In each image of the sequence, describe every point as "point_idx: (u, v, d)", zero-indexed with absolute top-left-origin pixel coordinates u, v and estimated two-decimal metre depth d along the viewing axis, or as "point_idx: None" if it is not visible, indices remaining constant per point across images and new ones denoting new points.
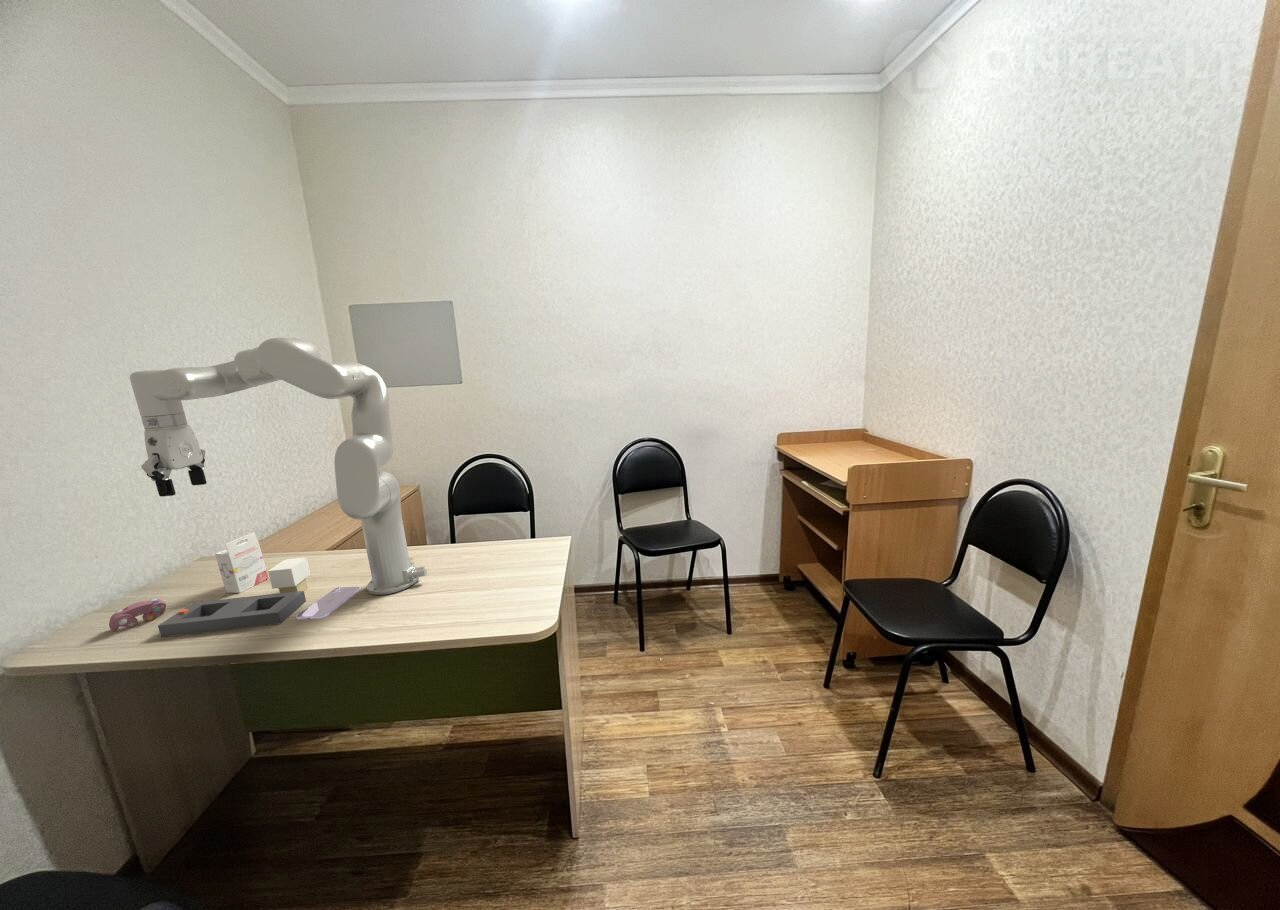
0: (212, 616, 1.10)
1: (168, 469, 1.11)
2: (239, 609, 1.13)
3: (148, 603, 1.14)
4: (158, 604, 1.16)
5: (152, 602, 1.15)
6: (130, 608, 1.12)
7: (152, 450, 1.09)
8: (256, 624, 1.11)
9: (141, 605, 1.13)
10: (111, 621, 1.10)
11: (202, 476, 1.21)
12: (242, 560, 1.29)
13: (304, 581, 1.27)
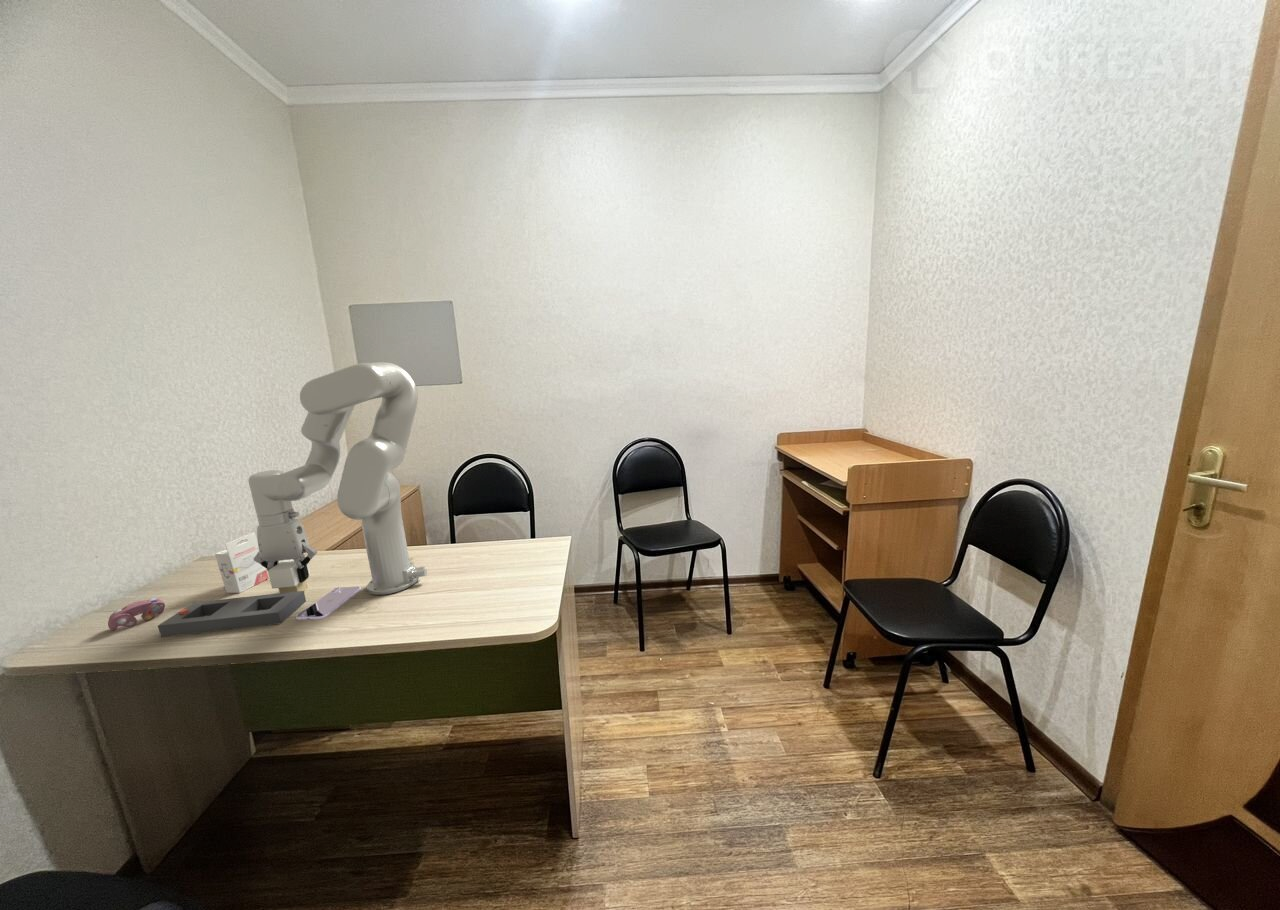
0: (212, 616, 1.10)
1: None
2: (239, 609, 1.13)
3: (147, 602, 1.15)
4: (157, 603, 1.16)
5: (151, 601, 1.15)
6: (129, 607, 1.12)
7: (301, 538, 1.23)
8: (256, 624, 1.11)
9: (140, 605, 1.14)
10: (110, 620, 1.10)
11: None
12: (242, 560, 1.29)
13: (304, 581, 1.27)
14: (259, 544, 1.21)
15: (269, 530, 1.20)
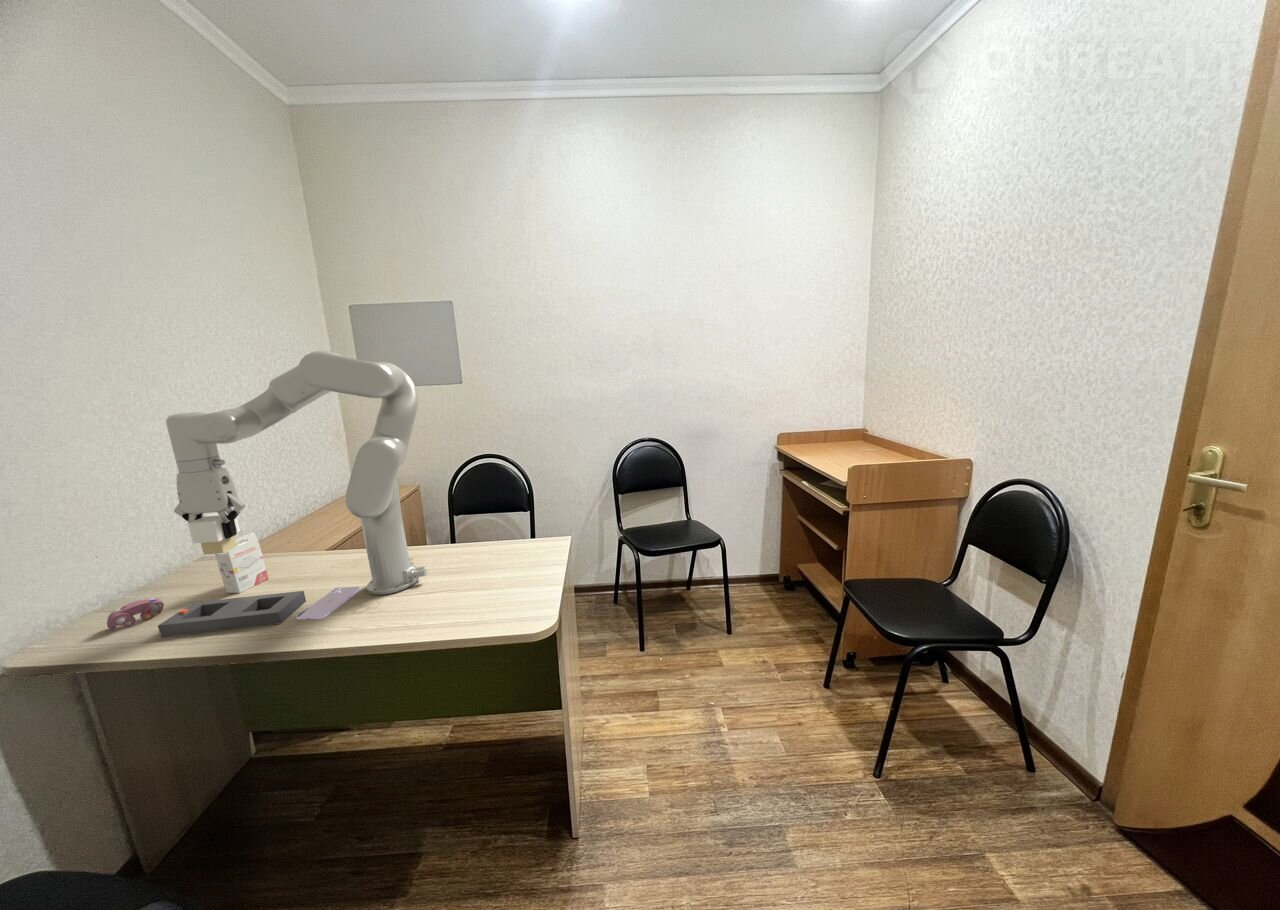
0: (212, 616, 1.10)
1: None
2: (239, 609, 1.13)
3: (146, 602, 1.15)
4: (155, 603, 1.16)
5: (150, 601, 1.16)
6: (128, 607, 1.13)
7: (226, 489, 1.11)
8: (256, 624, 1.11)
9: (138, 604, 1.14)
10: (109, 620, 1.10)
11: None
12: (242, 560, 1.29)
13: (232, 538, 1.16)
14: (179, 493, 1.09)
15: (190, 478, 1.08)
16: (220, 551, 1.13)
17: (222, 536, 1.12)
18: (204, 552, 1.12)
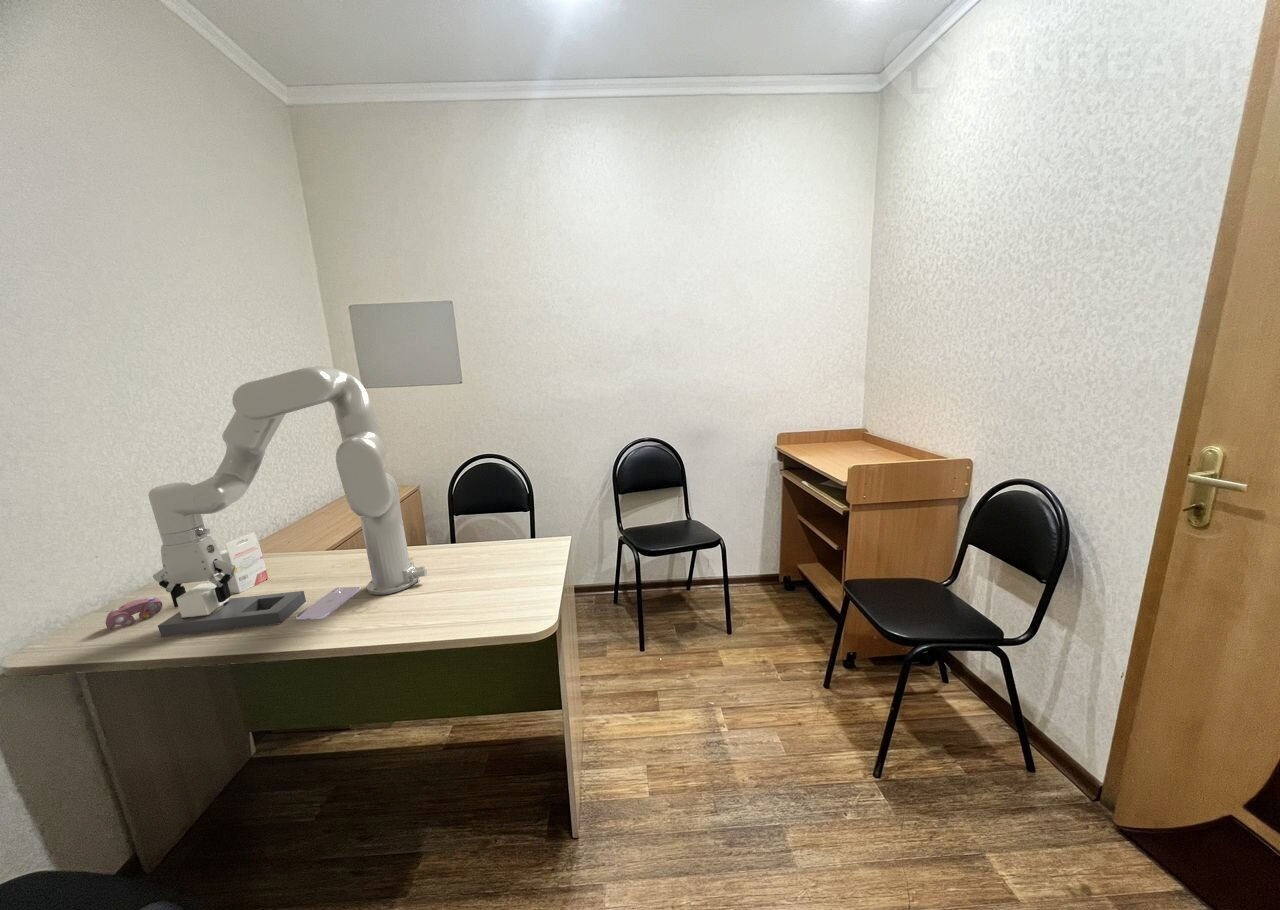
0: (212, 616, 1.10)
1: None
2: (239, 609, 1.13)
3: (145, 601, 1.15)
4: (154, 602, 1.17)
5: (148, 600, 1.16)
6: (127, 606, 1.13)
7: (212, 558, 1.11)
8: (256, 624, 1.11)
9: (137, 604, 1.14)
10: (108, 619, 1.11)
11: (185, 592, 1.14)
12: (242, 560, 1.29)
13: None
14: (164, 565, 1.08)
15: (174, 550, 1.07)
16: None
17: (211, 608, 1.12)
18: None
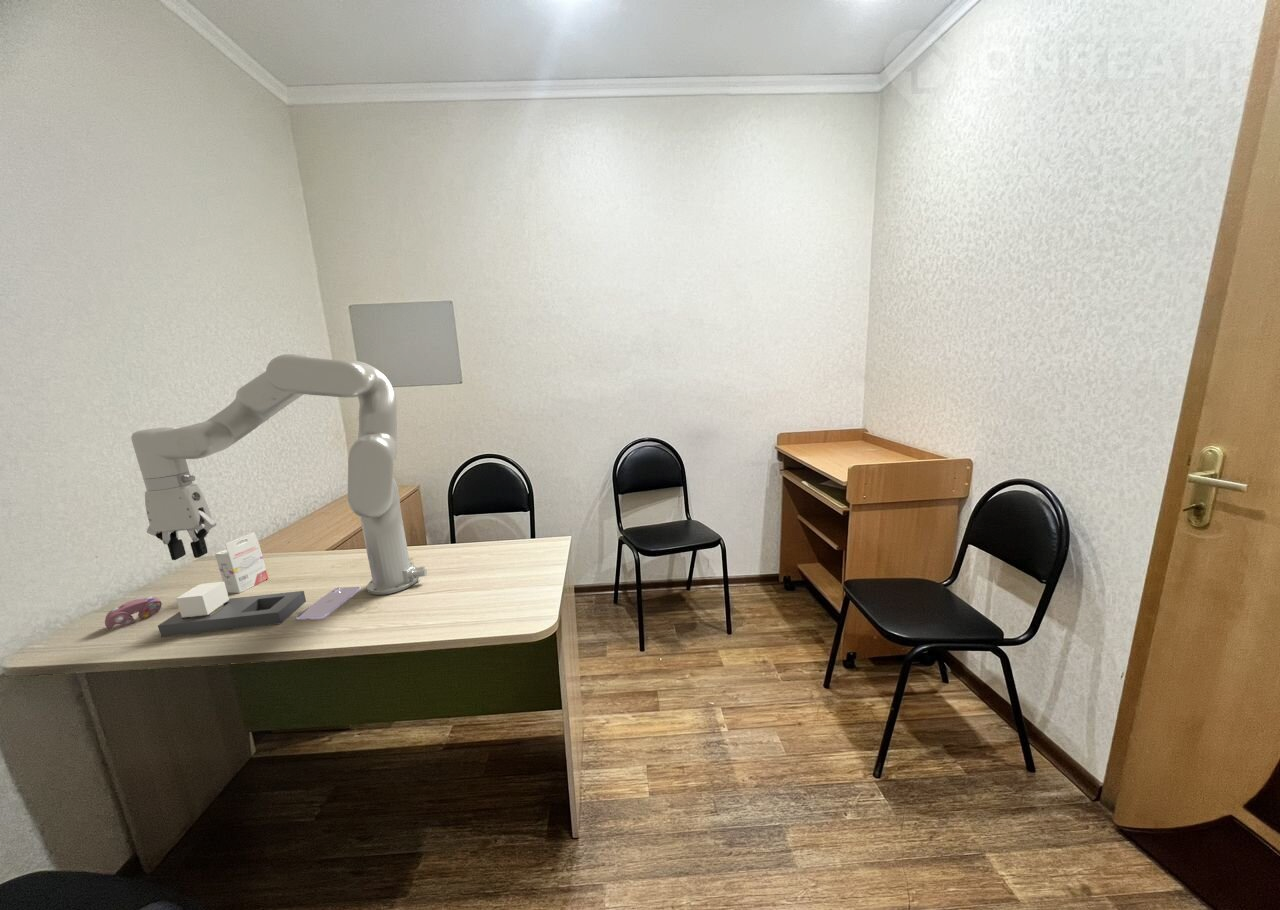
0: (212, 616, 1.10)
1: None
2: (239, 609, 1.13)
3: (144, 601, 1.16)
4: (153, 602, 1.17)
5: (148, 600, 1.16)
6: (126, 606, 1.13)
7: (198, 506, 1.08)
8: (256, 624, 1.11)
9: (137, 603, 1.15)
10: (107, 619, 1.11)
11: (183, 546, 1.11)
12: (242, 560, 1.29)
13: None
14: (148, 512, 1.05)
15: (158, 496, 1.05)
16: None
17: (211, 608, 1.12)
18: None
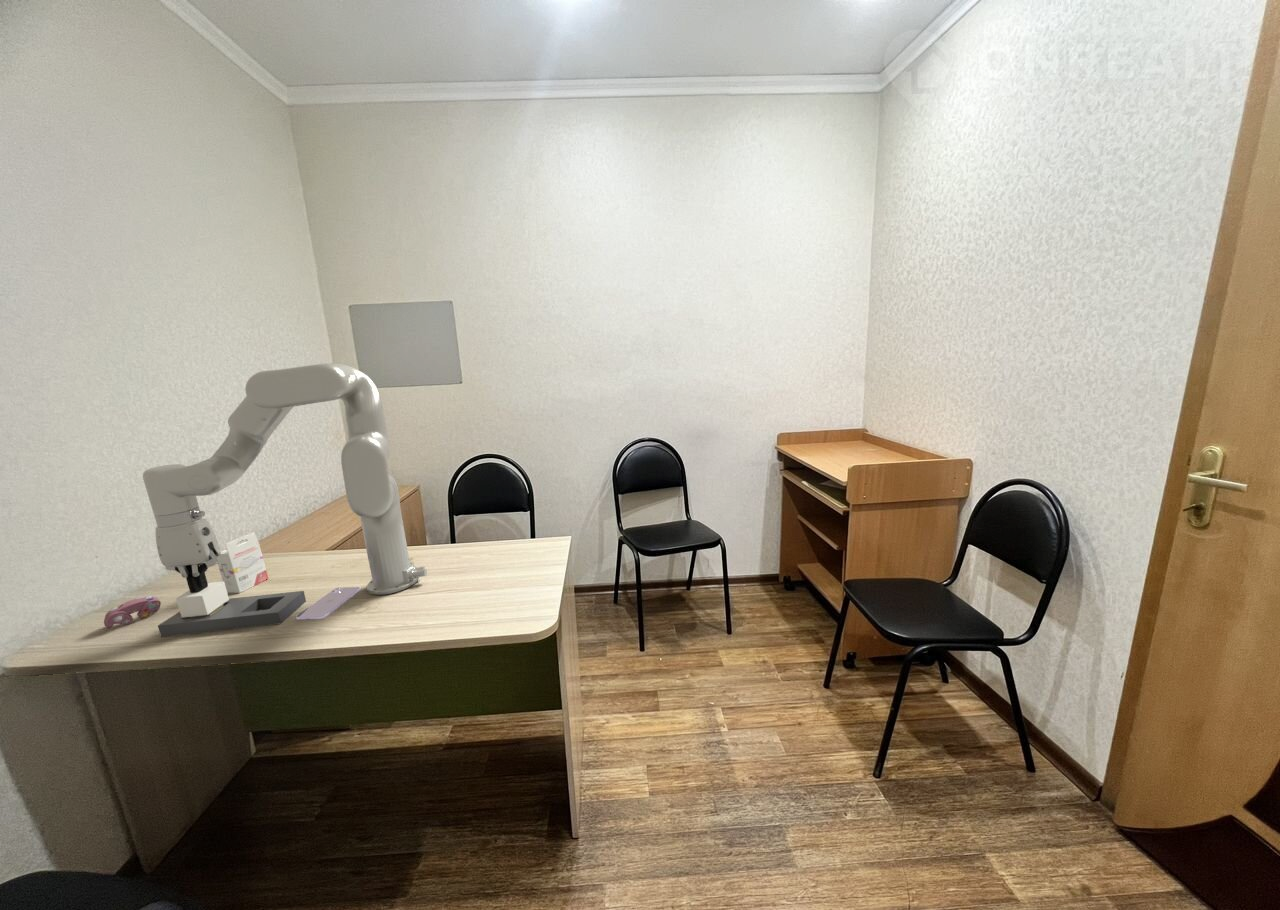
0: (212, 616, 1.10)
1: None
2: (239, 609, 1.13)
3: (143, 600, 1.16)
4: (152, 601, 1.17)
5: (147, 599, 1.17)
6: (125, 605, 1.14)
7: (207, 540, 1.10)
8: (256, 624, 1.11)
9: (136, 603, 1.15)
10: (106, 618, 1.11)
11: None
12: (242, 560, 1.29)
13: None
14: (158, 547, 1.07)
15: (169, 532, 1.06)
16: None
17: (211, 608, 1.12)
18: None
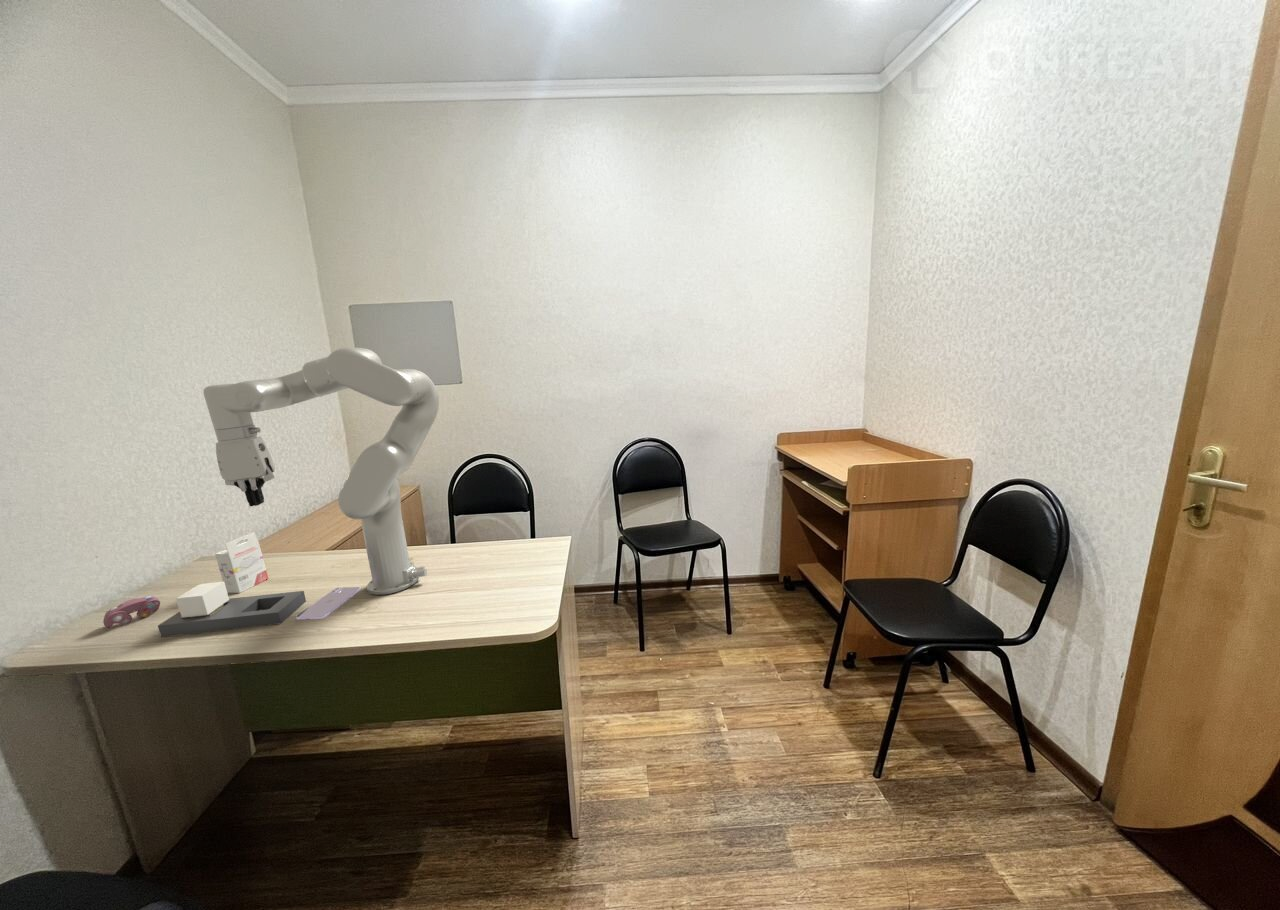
0: (212, 616, 1.10)
1: None
2: (239, 609, 1.13)
3: (142, 600, 1.16)
4: (152, 601, 1.17)
5: (146, 599, 1.17)
6: (125, 605, 1.14)
7: (264, 455, 1.17)
8: (256, 624, 1.11)
9: (135, 602, 1.15)
10: (106, 618, 1.12)
11: None
12: (242, 560, 1.29)
13: None
14: (219, 462, 1.15)
15: (229, 446, 1.14)
16: None
17: (211, 608, 1.12)
18: None
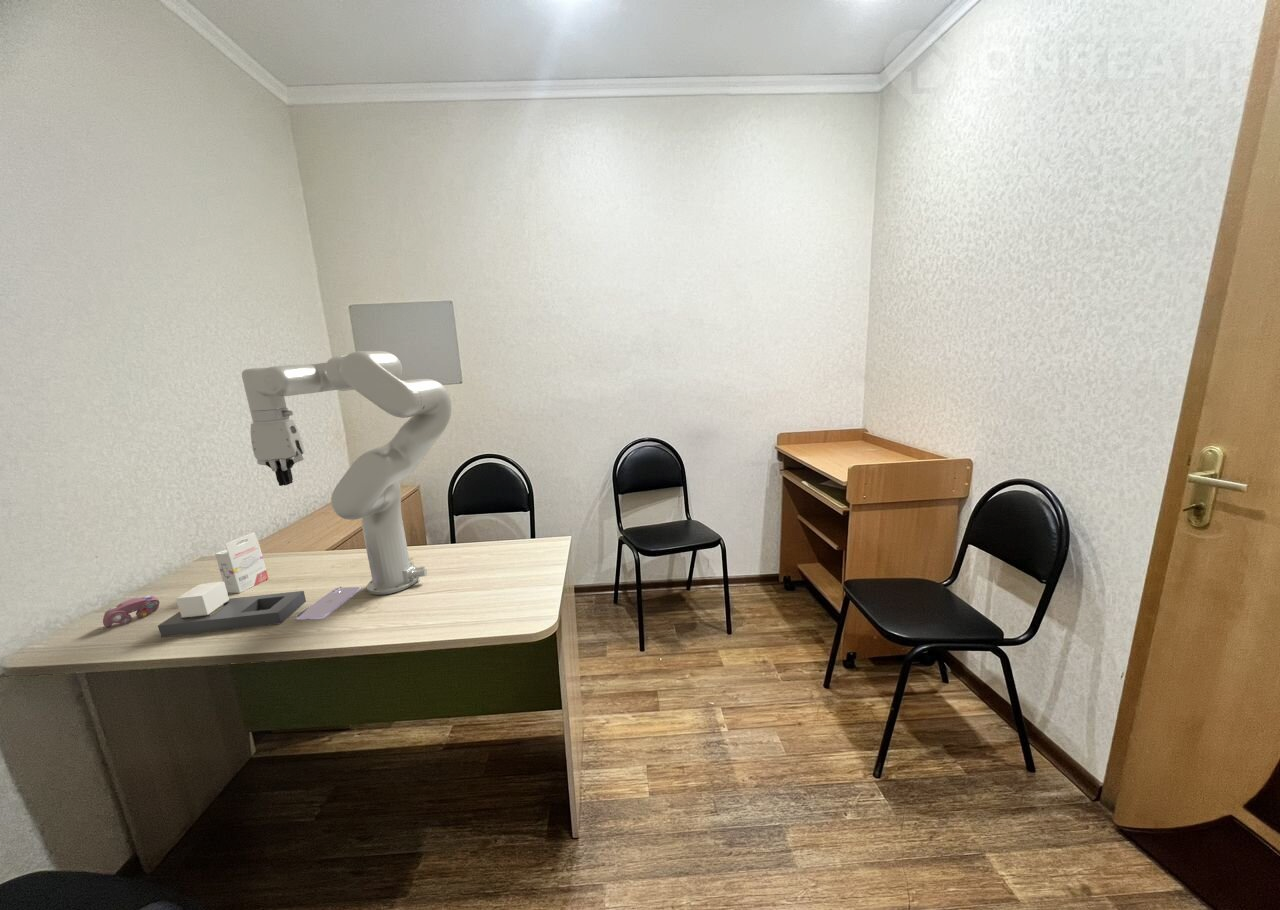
0: (212, 616, 1.10)
1: None
2: (239, 609, 1.13)
3: (142, 600, 1.16)
4: (151, 600, 1.18)
5: (146, 599, 1.17)
6: (124, 605, 1.14)
7: (295, 438, 1.22)
8: (256, 624, 1.11)
9: (134, 602, 1.15)
10: (105, 617, 1.12)
11: None
12: (242, 560, 1.29)
13: None
14: (253, 442, 1.20)
15: (263, 427, 1.19)
16: None
17: (211, 608, 1.12)
18: None
